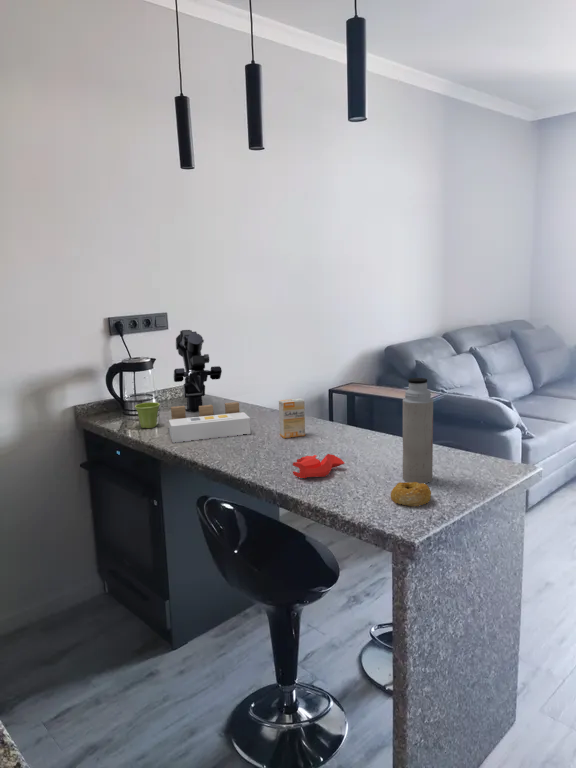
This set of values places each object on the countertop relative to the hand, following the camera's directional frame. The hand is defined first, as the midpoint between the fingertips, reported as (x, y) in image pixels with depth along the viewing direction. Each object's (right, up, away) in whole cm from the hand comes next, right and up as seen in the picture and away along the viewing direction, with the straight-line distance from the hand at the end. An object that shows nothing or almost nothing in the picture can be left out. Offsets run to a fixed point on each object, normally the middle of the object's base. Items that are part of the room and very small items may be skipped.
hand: (200, 391), depth 226 cm
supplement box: (+36, -16, -22) cm, 45 cm away
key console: (+5, -15, -13) cm, 20 cm away
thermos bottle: (+70, -23, -68) cm, 101 cm away
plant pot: (-20, -14, -1) cm, 24 cm away
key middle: (+4, -13, -10) cm, 17 cm away
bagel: (+65, -26, -82) cm, 108 cm away
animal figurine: (+43, -23, -60) cm, 77 cm away
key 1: (-7, -14, -10) cm, 18 cm away
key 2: (+13, -12, -7) cm, 19 cm away
